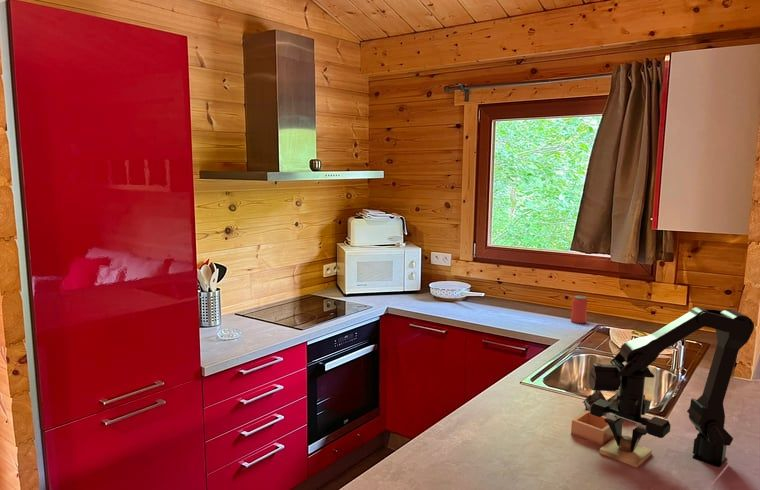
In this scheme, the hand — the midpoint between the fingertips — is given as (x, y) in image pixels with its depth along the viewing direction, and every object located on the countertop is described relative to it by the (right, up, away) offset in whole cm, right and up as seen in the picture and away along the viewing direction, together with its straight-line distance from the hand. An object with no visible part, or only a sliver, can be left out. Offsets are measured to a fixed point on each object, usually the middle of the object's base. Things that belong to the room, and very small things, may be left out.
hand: (626, 448), depth 152 cm
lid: (0, -2, 0) cm, 2 cm away
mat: (0, -2, 0) cm, 2 cm away
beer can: (+28, +17, +120) cm, 125 cm away
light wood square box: (-5, 0, +10) cm, 11 cm away
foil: (+5, +1, +23) cm, 24 cm away
